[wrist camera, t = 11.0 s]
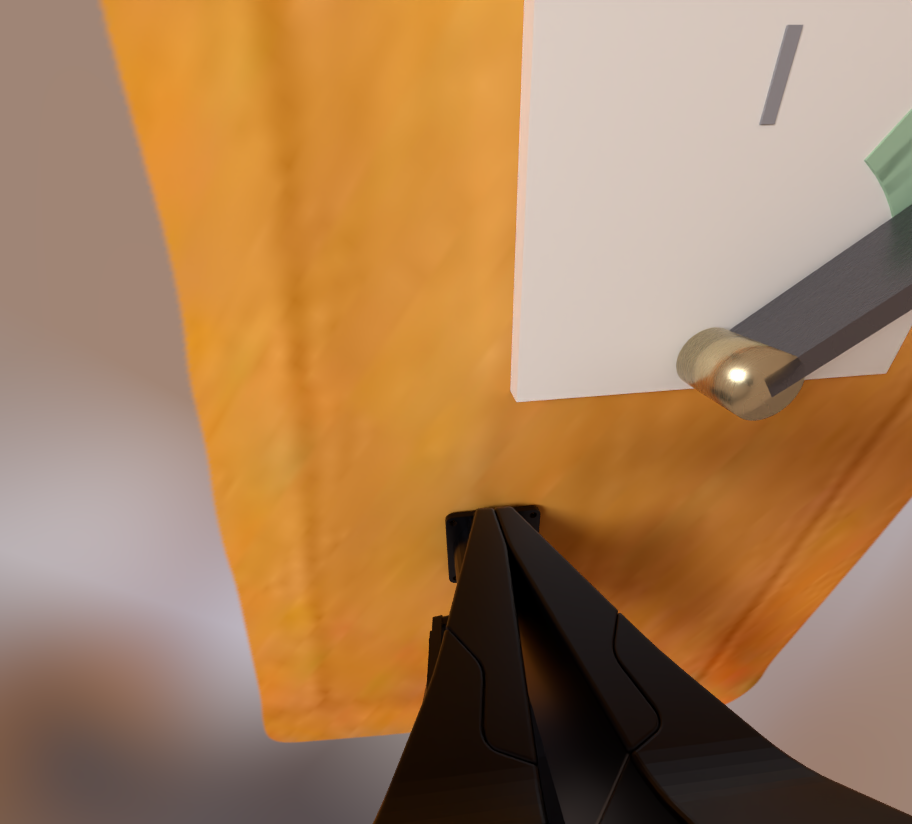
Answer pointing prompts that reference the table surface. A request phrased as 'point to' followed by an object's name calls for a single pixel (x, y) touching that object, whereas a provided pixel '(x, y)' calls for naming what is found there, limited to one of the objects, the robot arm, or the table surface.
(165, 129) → the table surface
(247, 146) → the table surface
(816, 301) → the pointer
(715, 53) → the dial board
